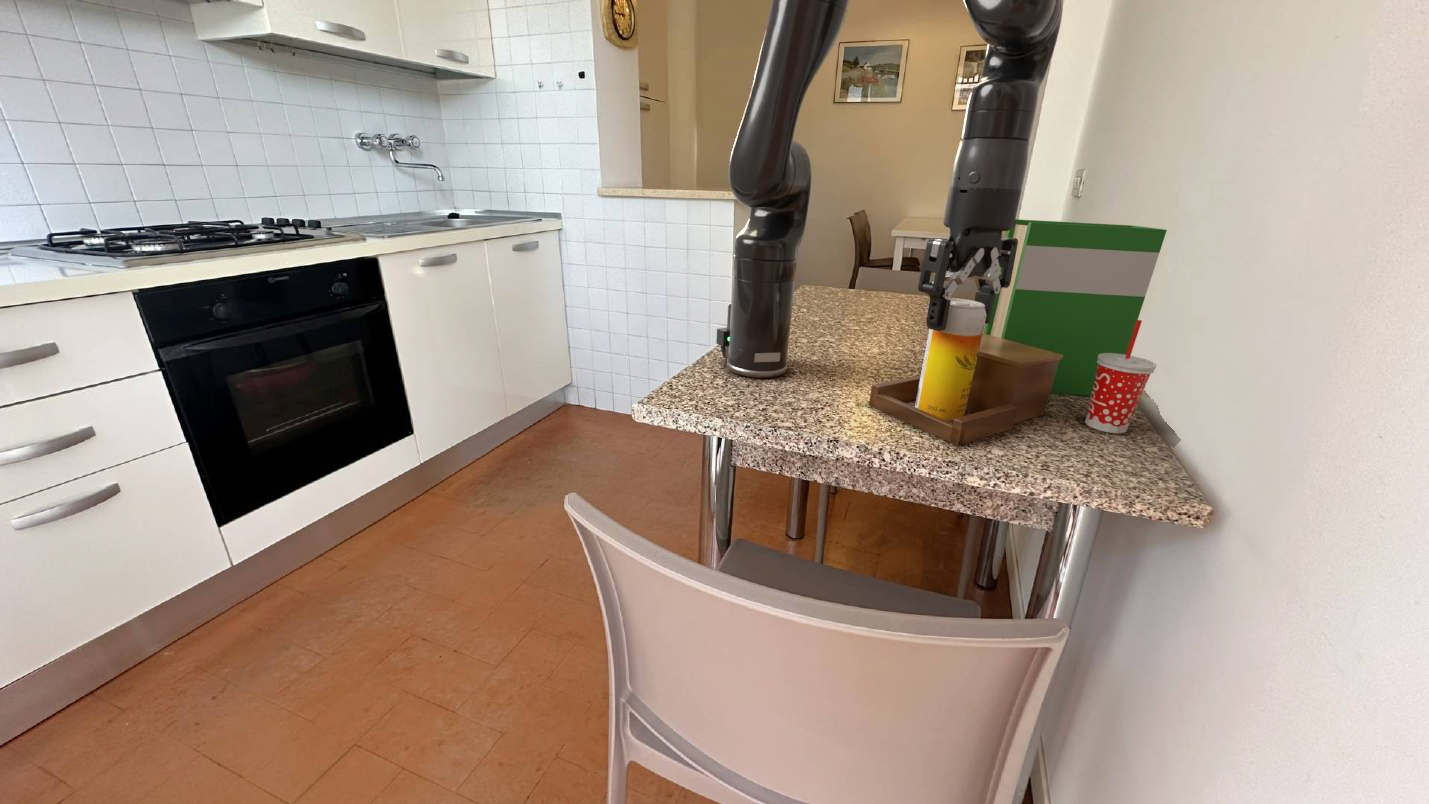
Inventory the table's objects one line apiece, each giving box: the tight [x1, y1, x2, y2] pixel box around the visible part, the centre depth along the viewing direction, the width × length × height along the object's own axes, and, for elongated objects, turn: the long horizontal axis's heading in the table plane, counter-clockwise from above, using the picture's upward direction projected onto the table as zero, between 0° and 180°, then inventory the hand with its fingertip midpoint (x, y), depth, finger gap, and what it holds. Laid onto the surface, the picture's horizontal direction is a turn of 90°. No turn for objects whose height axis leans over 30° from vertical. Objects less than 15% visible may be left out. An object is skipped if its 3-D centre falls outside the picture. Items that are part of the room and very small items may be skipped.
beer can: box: [914, 297, 987, 423], centre depth 72 cm, size 6×6×15 cm
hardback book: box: [983, 218, 1168, 396], centre depth 85 cm, size 18×7×24 cm, turn 86°
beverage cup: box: [1084, 319, 1157, 434], centre depth 72 cm, size 6×6×14 cm
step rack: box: [868, 332, 1063, 447], centre depth 75 cm, size 14×20×8 cm
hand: (958, 326), depth 70 cm, fingers open, 8 cm apart
